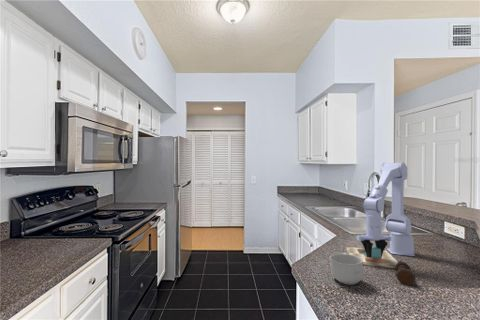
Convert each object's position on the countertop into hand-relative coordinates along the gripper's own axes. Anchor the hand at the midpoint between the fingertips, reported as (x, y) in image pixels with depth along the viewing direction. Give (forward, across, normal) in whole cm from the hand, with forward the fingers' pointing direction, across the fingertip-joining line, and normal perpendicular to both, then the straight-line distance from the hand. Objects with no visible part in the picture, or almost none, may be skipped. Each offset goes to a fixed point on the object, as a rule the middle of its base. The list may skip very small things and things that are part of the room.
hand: (374, 257), depth 103 cm
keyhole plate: (+2, -2, -5) cm, 6 cm away
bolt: (+2, -2, +14) cm, 15 cm away
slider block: (+2, 0, -1) cm, 2 cm away
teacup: (+2, +21, +16) cm, 26 cm away
